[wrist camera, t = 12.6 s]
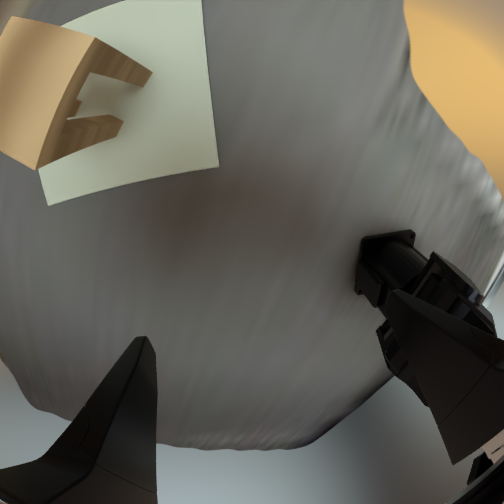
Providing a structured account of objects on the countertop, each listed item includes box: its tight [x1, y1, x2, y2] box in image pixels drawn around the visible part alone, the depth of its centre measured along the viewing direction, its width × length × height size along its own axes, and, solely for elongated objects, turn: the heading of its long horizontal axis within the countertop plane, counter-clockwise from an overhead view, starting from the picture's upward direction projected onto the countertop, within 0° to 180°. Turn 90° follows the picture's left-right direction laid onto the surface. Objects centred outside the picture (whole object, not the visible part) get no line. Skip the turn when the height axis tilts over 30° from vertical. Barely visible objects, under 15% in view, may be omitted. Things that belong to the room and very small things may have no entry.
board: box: [38, 0, 219, 206], centre depth 14 cm, size 14×14×1 cm
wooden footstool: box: [0, 16, 153, 170], centre depth 9 cm, size 5×5×10 cm
